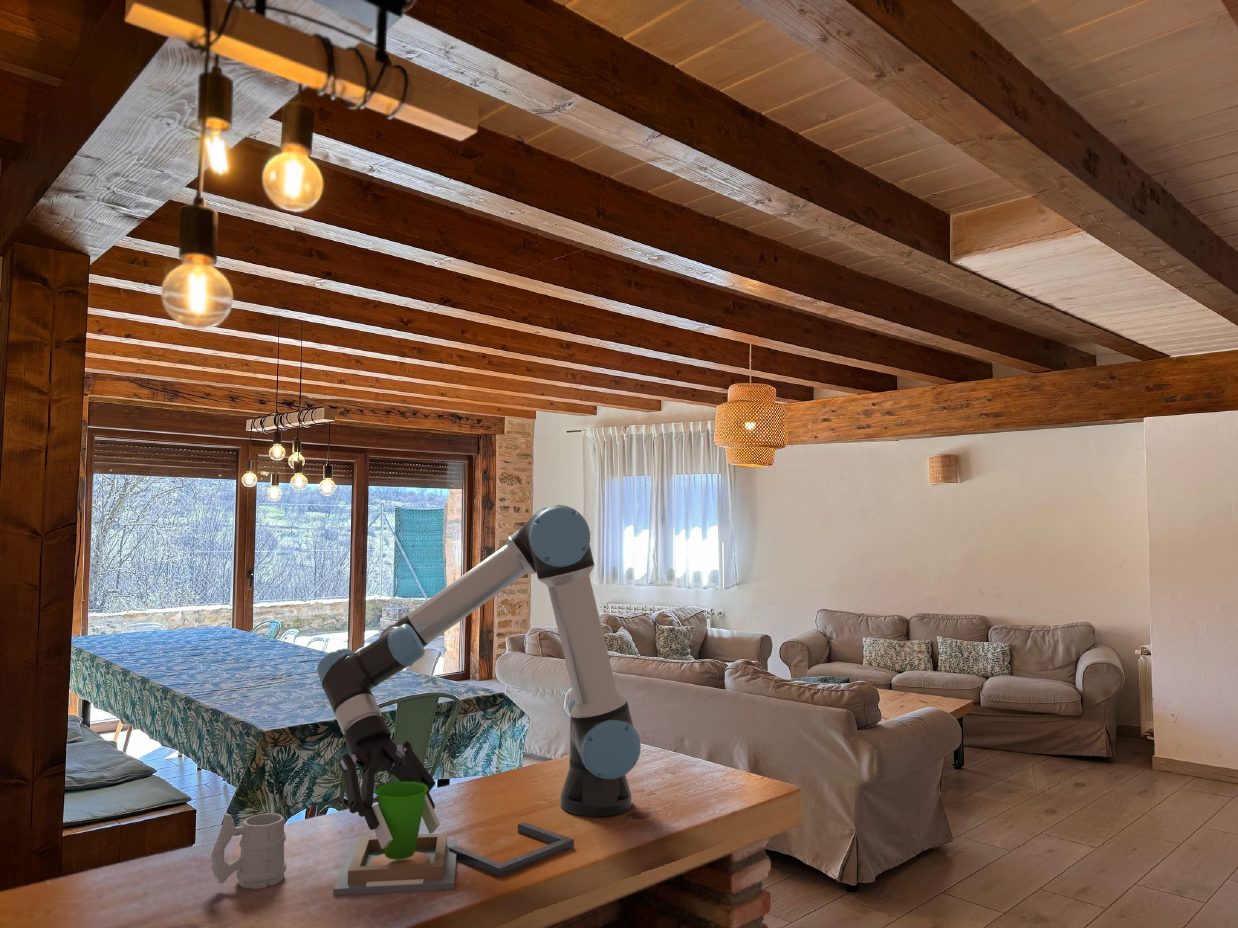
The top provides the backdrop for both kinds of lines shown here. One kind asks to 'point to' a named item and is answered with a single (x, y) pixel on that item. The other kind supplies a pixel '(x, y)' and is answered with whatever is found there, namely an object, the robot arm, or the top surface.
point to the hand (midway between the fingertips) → (411, 836)
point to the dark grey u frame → (501, 869)
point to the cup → (402, 815)
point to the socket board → (400, 888)
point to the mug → (252, 851)
